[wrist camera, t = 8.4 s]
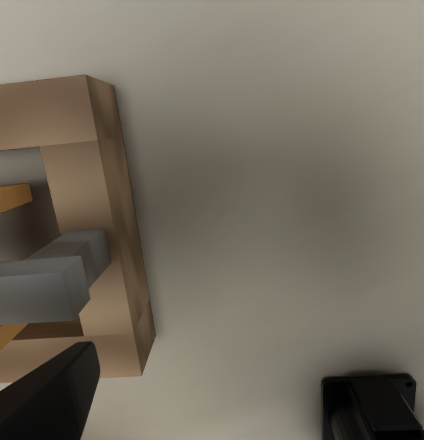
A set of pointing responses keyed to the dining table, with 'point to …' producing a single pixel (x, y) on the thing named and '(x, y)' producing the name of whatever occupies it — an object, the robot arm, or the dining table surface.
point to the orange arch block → (3, 201)
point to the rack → (76, 233)
